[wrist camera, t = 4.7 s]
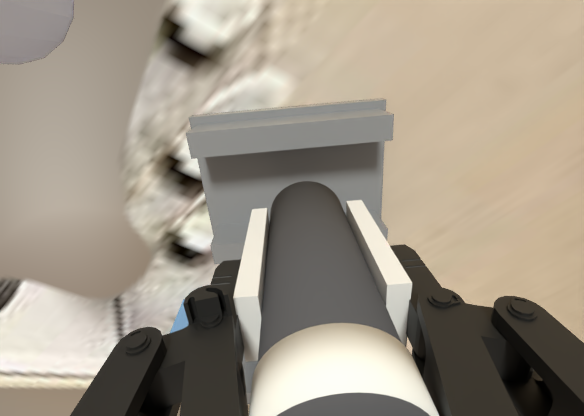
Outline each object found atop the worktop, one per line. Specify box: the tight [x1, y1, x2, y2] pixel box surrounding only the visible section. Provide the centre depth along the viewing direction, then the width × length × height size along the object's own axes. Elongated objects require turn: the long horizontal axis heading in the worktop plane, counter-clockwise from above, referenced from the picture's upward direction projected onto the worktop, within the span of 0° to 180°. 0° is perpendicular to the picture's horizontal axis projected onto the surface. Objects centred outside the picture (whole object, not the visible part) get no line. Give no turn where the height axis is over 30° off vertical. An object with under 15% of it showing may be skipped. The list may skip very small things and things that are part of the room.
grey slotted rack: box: [186, 99, 394, 404], centre depth 25 cm, size 13×25×4 cm, turn 5°
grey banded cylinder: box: [249, 181, 439, 416], centre depth 12 cm, size 4×4×12 cm
